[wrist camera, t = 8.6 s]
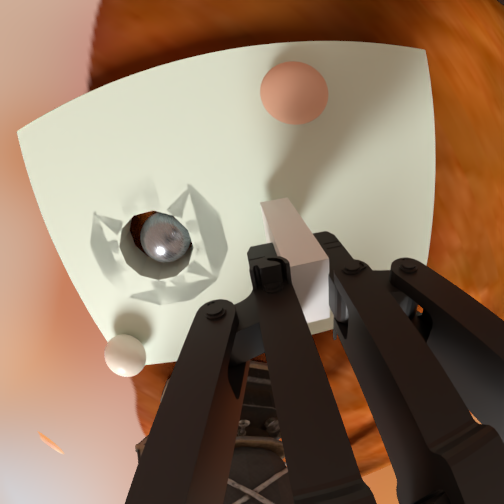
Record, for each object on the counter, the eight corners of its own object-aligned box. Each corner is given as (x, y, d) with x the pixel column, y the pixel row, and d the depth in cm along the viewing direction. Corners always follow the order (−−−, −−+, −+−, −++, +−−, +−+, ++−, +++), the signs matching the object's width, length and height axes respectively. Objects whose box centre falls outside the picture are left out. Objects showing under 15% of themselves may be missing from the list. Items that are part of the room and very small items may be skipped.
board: (37, 126, 14) (16, 131, 11) (404, 53, 14) (425, 49, 12) (130, 346, 23) (124, 366, 21) (405, 285, 24) (419, 301, 21)
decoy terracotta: (250, 70, 12) (259, 60, 10) (310, 64, 12) (332, 54, 10) (261, 127, 14) (273, 131, 11) (319, 119, 14) (343, 122, 11)
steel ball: (184, 202, 18) (150, 227, 19) (160, 198, 15) (122, 228, 16) (207, 244, 18) (170, 267, 19) (186, 248, 15) (145, 275, 16)
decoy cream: (103, 327, 19) (91, 358, 16) (138, 322, 19) (130, 355, 16) (121, 355, 20) (113, 386, 18) (155, 351, 20) (150, 383, 18)
